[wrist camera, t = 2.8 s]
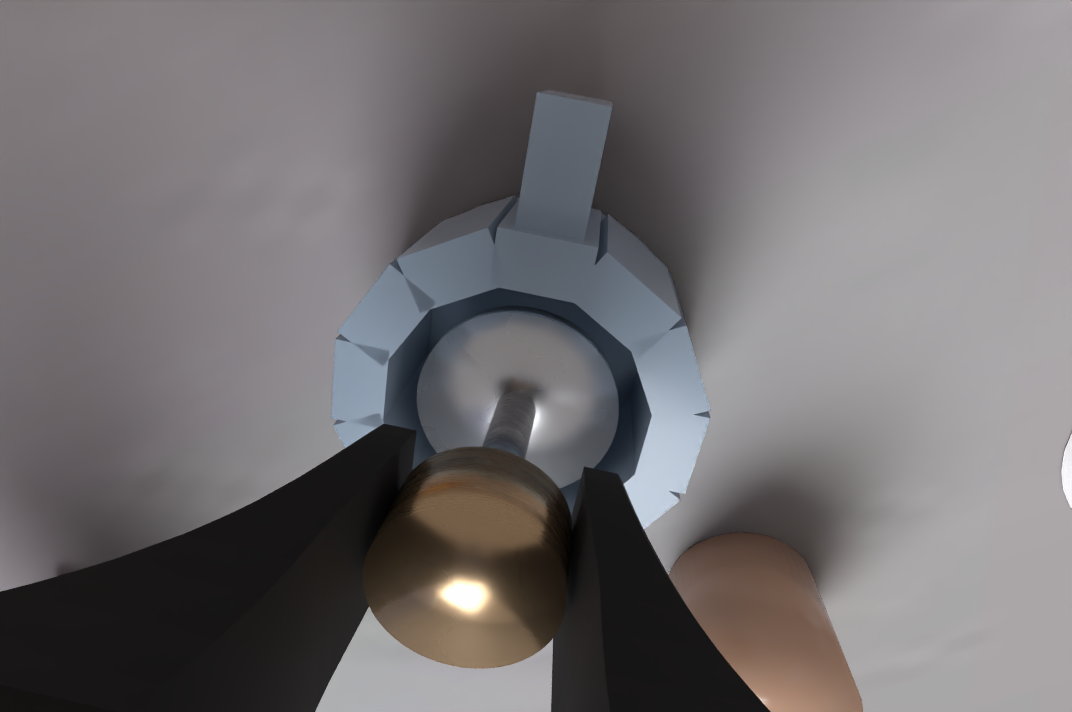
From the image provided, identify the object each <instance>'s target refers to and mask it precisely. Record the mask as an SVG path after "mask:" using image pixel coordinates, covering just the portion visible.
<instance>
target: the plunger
mask: <svg viewBox="0 0 1072 712" xmlns="http://www.w3.org/2000/svg"><path fill="white" fill-rule="evenodd" d="M417 409H418V414H419V418H420V422H421V425H422V428H423V430H424V433H425V435H426V437H427V439H428V440H429V442H430V444H431V445H432V447H433V448H434V450H435V451H436V452H437V454H435V455H433V456H431V457H429V458H427V459H426V460H424V461H423V462H421V463H420V464H419V465H418V466H417V467H415V468H414V469H413V470H412V471H411V473H410V474H409V475H408V476H407V478H406V479H405V481H404V483H403V484H402V486H401V488H400V490H399V492H398V494H397V496H396V498H395V500H394V502H393V504H392V506H391V508H390V509H389V511H388V513H387V515H386V517H385V519H384V521H383V523H382V525H381V527H380V529H379V531H378V533H377V535H376V537H375V539H374V540H373V542H372V544H371V546H370V548H369V550H368V552H367V555H366V558H365V560H364V565H363V571H362V582H363V588H364V593H365V596H366V599H367V602H368V604H369V606H370V608H371V610H372V612H373V614H374V615H375V617H376V618H377V620H378V621H379V623H380V624H381V625H382V626H383V627H384V628H385V630H386V631H387V632H389V633H390V634H391V635H392V636H393V637H394V638H395V639H396V640H398V641H399V642H400V643H402V644H403V645H404V646H406V647H408V648H409V649H411V650H413V651H414V652H416V653H418V654H420V655H422V656H424V657H426V658H429V659H432V660H434V661H437V662H440V663H444V664H448V665H452V666H457V667H463V668H495V667H502V666H506V665H511V664H514V663H517V662H519V661H522V660H524V659H526V658H528V657H530V656H532V655H534V654H535V653H537V652H538V651H540V650H541V649H542V648H544V647H545V646H546V645H547V644H548V643H549V642H550V641H551V640H552V638H553V637H554V636H555V635H556V633H557V631H558V629H559V628H560V626H561V623H562V621H563V618H564V614H565V608H566V599H567V588H568V576H569V565H570V553H571V541H572V518H571V513H570V509H569V506H568V503H567V501H566V499H565V497H564V495H563V494H562V492H561V491H560V489H559V488H562V487H565V486H567V485H569V484H572V483H573V482H575V481H577V480H579V479H580V478H581V476H582V472H583V468H584V467H589V468H594V467H595V466H596V465H597V464H598V463H599V462H600V461H601V459H602V458H603V457H604V455H605V454H606V453H607V451H608V449H609V447H610V445H611V443H612V441H613V438H614V436H615V433H616V429H617V424H618V415H619V396H618V387H617V382H616V378H615V375H614V372H613V369H612V367H611V365H610V362H609V361H608V359H607V357H606V355H605V354H604V352H603V351H602V349H601V348H600V347H599V346H598V344H597V343H596V342H595V341H594V340H593V339H592V338H591V337H590V336H589V335H588V334H587V333H586V332H585V331H584V330H582V329H581V328H580V327H578V326H577V325H575V324H574V323H572V322H571V321H569V320H567V319H565V318H563V317H561V316H559V315H556V314H554V313H552V312H549V311H545V310H541V309H538V308H532V307H525V306H504V307H495V308H491V309H487V310H483V311H480V312H478V313H475V314H473V315H470V316H468V317H467V318H465V319H463V320H461V321H460V322H458V323H457V324H456V325H454V326H453V327H452V328H450V329H449V330H448V331H447V332H446V333H445V334H444V335H443V336H442V337H441V339H440V340H439V341H438V343H437V344H436V345H435V347H434V348H433V350H432V351H431V353H430V354H429V356H428V358H427V360H426V361H425V363H424V365H423V368H422V371H421V373H420V376H419V381H418V386H417Z"/></svg>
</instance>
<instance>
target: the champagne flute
mask: <svg viewBox="0 0 1072 712" xmlns="http://www.w3.org/2000/svg"><path fill="white" fill-rule="evenodd" d="M1061 473H1062V483H1063V490H1064V493H1065V495H1066V498H1067V500H1068V502H1069V505H1070V507H1071V508H1072V434H1071V436H1070V439H1069V441H1068V444H1067V446H1066V448H1065V451H1064V457H1063V463H1062V469H1061Z"/></svg>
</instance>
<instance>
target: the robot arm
mask: <svg viewBox="0 0 1072 712" xmlns="http://www.w3.org/2000/svg"><path fill="white" fill-rule="evenodd" d="M416 432H417V430H412V429H407V428H403V427H398V426H393V425H389V424H382V425H380V426H379V427H377V428H376V429H374V430H372V431H371V432H369V433H368V434H366V435H365V436H363V437H362V438H360V439H359V440H357V441H355V442H354V443H352V444H351V445H349V446H348V447H346V448H345V449H343V450H342V451H340V452H339V453H337V454H336V455H334V456H333V457H331V458H329V459H328V460H326V461H325V462H323V463H321V464H320V465H318V466H316V467H315V468H313V469H312V470H310V471H308V472H307V473H305V474H304V475H302V476H300V477H299V478H297V479H295V480H293V481H292V482H290V483H288V484H286V485H284V486H283V487H281V488H279V489H277V490H275V491H274V492H272V493H270V494H268V495H266V496H264V497H263V498H261V499H259V500H257V501H255V502H253V503H251V504H249V505H247V506H245V507H243V508H241V509H239V510H237V511H235V512H233V513H231V514H229V515H226V516H224V517H222V518H220V519H217V520H215V521H213V522H211V523H208V524H206V525H204V526H202V527H199V528H197V529H195V530H192V531H190V532H187V533H185V534H182V535H180V536H177V537H174V538H172V539H169V540H166V541H163V542H161V543H158V544H155V545H152V546H150V547H147V548H144V549H142V550H139V551H136V552H133V553H131V554H128V555H125V556H123V557H120V558H117V559H114V560H111V561H107V562H104V563H101V564H98V565H95V566H91V567H88V568H85V569H82V570H79V571H75V572H72V573H68V574H65V575H61V576H58V577H54V578H50V579H47V580H43V581H40V582H36V583H33V584H29V585H25V586H21V587H17V588H13V589H9V590H5V591H1V592H0V712H315V711H316V708H317V706H318V704H319V702H320V700H321V698H322V696H323V693H324V691H325V689H326V687H327V685H328V683H329V681H330V679H331V677H332V675H333V673H334V671H335V670H336V668H337V666H338V664H339V662H340V660H341V658H342V656H343V654H344V653H345V651H346V649H347V647H348V645H349V643H350V641H351V639H352V637H353V636H354V634H355V632H356V630H357V628H358V626H359V624H360V622H361V620H362V619H363V617H364V615H365V613H366V611H367V609H368V607H369V604H368V602H367V599H366V596H365V593H364V588H363V582H362V571H363V565H364V560H365V558H366V555H367V552H368V550H369V548H370V546H371V544H372V542H373V540H374V539H375V537H376V535H377V533H378V531H379V529H380V527H381V525H382V523H383V521H384V519H385V517H386V515H387V513H388V511H389V509H390V508H391V506H392V504H393V502H394V500H395V498H396V496H397V494H398V492H399V490H400V488H401V486H402V484H403V483H404V481H405V479H406V478H407V476H408V475H409V474H410V473H411V471H412V467H413V459H414V450H415V441H416ZM571 518H572V541H571V553H570V565H569V576H568V588H567V599H566V608H565V614H564V618H563V621H562V623H561V626H560V628H559V629H558V631H557V633H556V635H555V636H554V637H553V666H552V703H551V712H771V711H770V710H769V709H768V708H767V707H766V706H765V705H764V704H763V703H762V701H761V700H760V699H759V698H758V697H757V696H756V694H755V693H754V692H753V691H752V690H751V689H750V688H749V686H748V685H747V684H746V683H745V682H744V681H743V679H742V678H741V677H740V676H739V675H738V674H737V673H736V671H735V670H734V669H733V668H732V666H731V665H730V664H729V663H728V662H727V660H726V659H725V658H724V657H723V655H722V654H721V653H720V652H719V650H718V649H717V648H716V646H715V645H714V644H713V642H712V641H711V639H710V638H709V637H708V635H707V634H706V633H705V631H704V630H703V629H702V627H701V626H700V625H699V623H698V622H697V620H696V619H695V617H694V616H693V614H692V613H691V611H690V610H689V608H688V607H687V605H686V604H685V602H684V600H683V599H682V597H681V596H680V594H679V592H678V591H677V589H676V587H675V586H674V584H673V583H672V581H671V579H670V578H669V576H668V574H667V572H666V571H665V569H664V567H663V565H662V564H661V562H660V560H659V558H658V556H657V554H656V552H655V550H654V549H653V547H652V545H651V543H650V541H649V539H648V537H647V535H646V533H645V531H644V529H643V527H642V525H641V523H640V521H639V519H638V516H637V514H636V512H635V510H634V508H633V505H632V503H631V501H630V499H629V496H628V494H627V491H626V489H625V486H624V484H623V481H622V479H621V478H620V476H619V475H618V474H617V473H612V472H608V471H603V470H598V469H594V468H589V467H584V468H583V472H582V476H581V480H580V484H579V488H578V492H577V496H576V500H575V504H574V508H573V512H572V516H571Z"/></svg>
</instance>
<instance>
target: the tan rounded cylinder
mask: <svg viewBox="0 0 1072 712" xmlns="http://www.w3.org/2000/svg"><path fill="white" fill-rule="evenodd" d="M669 578H670V579H671V581H672V583H673V584H674V586H675V587H676V589H677V591H678V592H679V594H680V596H681V597H682V599H683V600H684V602H685V604H686V605H687V607H688V608H689V610H690V611H691V613H692V614H693V616H694V617H695V619H696V620H697V622H698V623H699V625H700V626H701V627H702V629H703V630H704V631H705V633H706V634H707V635H708V637H709V638H710V639H711V641H712V642H713V644H714V645H715V646H716V648H717V649H718V650H719V652H720V653H721V654H722V655H723V657H724V658H725V659H726V660H727V662H728V663H729V664H730V665H731V666H732V668H733V669H734V670H735V671H736V673H737V674H738V675H739V676H740V677H741V678H742V679H743V681H744V682H745V683H746V684H747V685H748V686H749V688H750V689H751V690H752V691H753V692H754V693H755V694H756V696H757V697H758V698H759V699H760V700H761V701H762V703H763V704H764V705H765V706H766V707H767V708H768V709H769V710H770V711H771V712H863V706H862V700H861V697H860V694H859V692H858V689H857V687H856V684H855V682H854V679H853V677H852V674H851V671H850V669H849V666H848V664H847V661H846V659H845V656H844V654H843V651H842V649H841V646H840V644H839V641H838V639H837V636H836V634H835V631H834V629H833V626H832V623H831V621H830V618H829V616H828V613H827V611H826V608H825V606H824V603H823V601H822V598H821V596H820V593H819V591H818V588H817V586H816V583H815V581H814V578H813V575H812V573H811V570H810V568H809V566H808V565H807V563H806V561H805V560H804V559H803V558H802V556H801V555H800V554H799V553H798V552H797V551H795V550H794V549H793V548H792V547H790V546H789V545H787V544H785V543H784V542H782V541H780V540H777V539H775V538H772V537H769V536H765V535H762V534H755V533H743V532H740V533H728V534H722V535H718V536H714V537H711V538H708V539H706V540H703V541H701V542H699V543H697V544H695V545H694V546H692V547H691V548H689V549H688V550H687V551H686V552H684V553H683V554H682V555H681V556H680V557H679V558H678V560H677V561H676V562H675V564H674V565H673V567H672V569H671V571H670V573H669Z"/></svg>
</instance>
